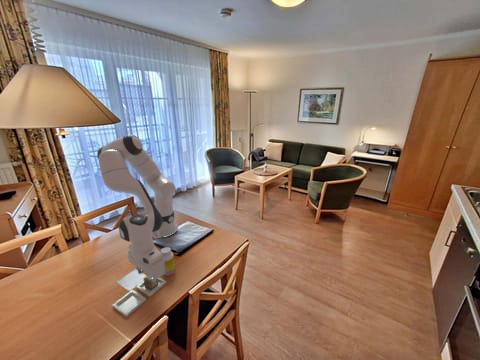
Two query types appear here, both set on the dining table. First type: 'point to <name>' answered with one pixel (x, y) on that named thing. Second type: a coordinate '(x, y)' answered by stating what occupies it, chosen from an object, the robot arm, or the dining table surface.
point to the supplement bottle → (168, 261)
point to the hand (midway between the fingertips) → (147, 276)
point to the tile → (131, 280)
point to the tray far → (129, 303)
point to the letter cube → (149, 282)
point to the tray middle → (151, 292)
